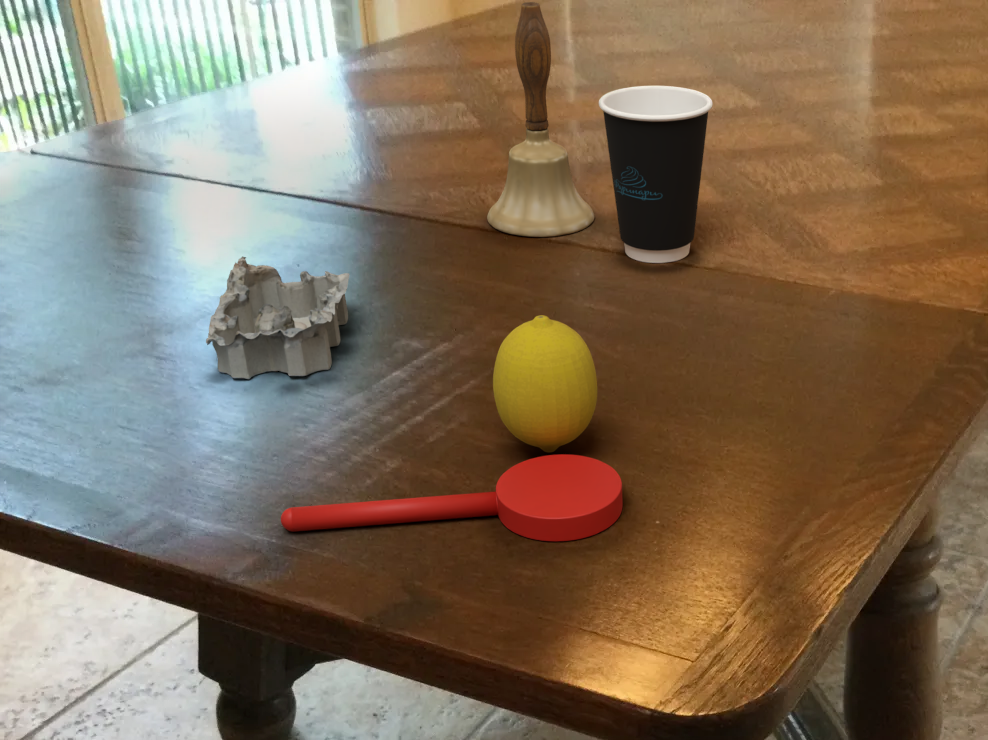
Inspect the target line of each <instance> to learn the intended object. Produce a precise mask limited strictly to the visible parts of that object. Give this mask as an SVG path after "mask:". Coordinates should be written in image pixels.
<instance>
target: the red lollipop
mask: <svg viewBox="0 0 988 740" xmlns="http://www.w3.org/2000/svg"><path fill="white" fill-rule="evenodd" d="M623 505H624V504H623V481H622V478H621V476H620V474H619V473H618V471H616V469H615V468H613V467H612V466H611V465H609V464H607V462H606V463H605V462H604V461H601V460H600V459H596V458H594V457H591V456H590V457H589V456H585V455H579V454H566V453H565V454H564V453H563V454H548V455H547V454H546V455H541V456H537V457H532V458H529V459H526V460H524V461H521V462H519V463H517V464H514V465H513V466H511V467H509V468H508V469H506V471H505V472H504V473H502V475H500V476H499V478H498V480H497V482H496V485H495V491H485V492H472V493H459V494H457V493H456V494H447V495H446V494H445V495H444V494H443V495H433V496H431V495H430V496H421V497H420V496H418V497H407V498H395V499H380V500H370V501H368V500H367V501H356V502H342V503H329V504H319V505H306V506H304V505H303V506H293V507H292V506H291V507H288V508H286V509H285V510H284V511H283V512H282V514H281V516H280V523H281V526H282V527H283V528H284V530H286V531H289V532H303V531H304V532H305V531H316V530H317V531H318V530H330V529H342V528H353V527H355V528H356V527H367V526H378V525H379V526H380V525H392V524H404V523H416V522H428V521H430V522H431V521H440V520H453V519H466V518H476V517H477V518H479V517H489V516H498V518H499V520H500V522H501V523H502V524H503V526H504V527H506V528H507V529H508V530H509V531H511V532H512V533H514V534H516V535H518V536H521V537H524V538H527V539H530V540H535V541H541V542H554V543H555V542H557V543H558V542H569V541H576V540H583V539H585V538H589V537H592V536H595V535H597V534H599V533H602V532H604V531H606V530H607V529H609V528H610V527H611V526H612V525H613V524H615V523H616V522H617V520H618V519H619V518H620V516H621V514H622V511H623Z"/></svg>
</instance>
